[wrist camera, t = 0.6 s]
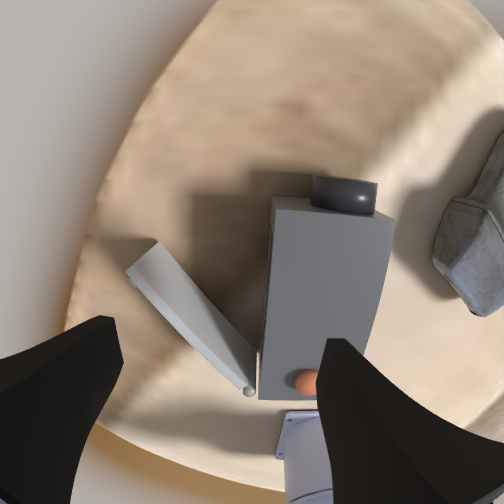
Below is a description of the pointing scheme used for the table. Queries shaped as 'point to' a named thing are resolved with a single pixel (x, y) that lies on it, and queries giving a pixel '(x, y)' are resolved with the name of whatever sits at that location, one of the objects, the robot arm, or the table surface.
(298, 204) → the camera body
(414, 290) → the table surface
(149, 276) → the side door
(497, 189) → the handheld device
